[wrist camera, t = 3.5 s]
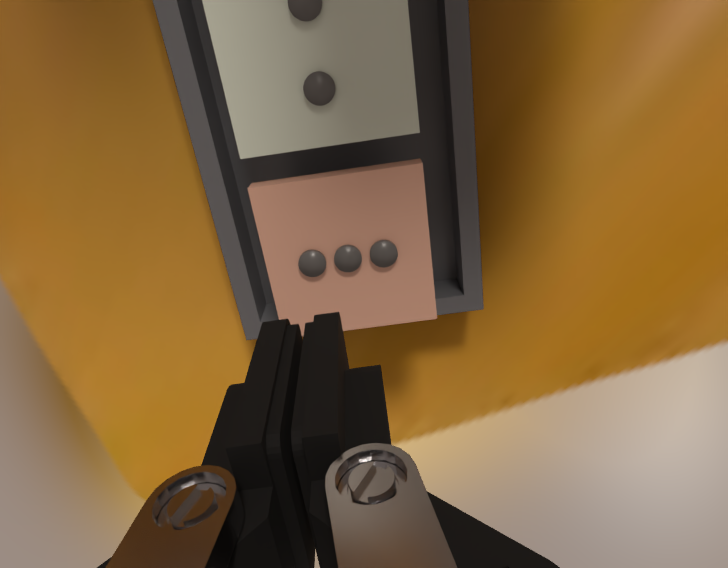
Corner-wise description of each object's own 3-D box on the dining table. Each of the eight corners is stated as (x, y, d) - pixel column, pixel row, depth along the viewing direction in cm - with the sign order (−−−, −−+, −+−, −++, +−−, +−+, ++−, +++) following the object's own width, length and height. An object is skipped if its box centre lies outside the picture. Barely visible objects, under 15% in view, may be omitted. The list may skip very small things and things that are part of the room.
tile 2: (393, -69, 17) (400, -89, 14) (411, 122, 19) (420, 133, 17) (212, -39, 17) (187, -54, 14) (254, 145, 19) (239, 160, 17)
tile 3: (414, 148, 20) (423, 164, 17) (428, 289, 22) (437, 321, 20) (260, 171, 20) (246, 189, 17) (291, 307, 22) (282, 341, 20)
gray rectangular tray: (432, -396, 15) (444, -470, 13) (472, 286, 25) (483, 309, 23) (88, -329, 16) (45, -388, 14) (256, 314, 25) (246, 340, 23)
